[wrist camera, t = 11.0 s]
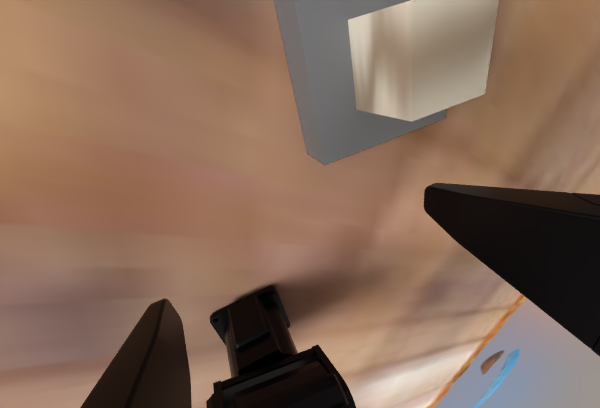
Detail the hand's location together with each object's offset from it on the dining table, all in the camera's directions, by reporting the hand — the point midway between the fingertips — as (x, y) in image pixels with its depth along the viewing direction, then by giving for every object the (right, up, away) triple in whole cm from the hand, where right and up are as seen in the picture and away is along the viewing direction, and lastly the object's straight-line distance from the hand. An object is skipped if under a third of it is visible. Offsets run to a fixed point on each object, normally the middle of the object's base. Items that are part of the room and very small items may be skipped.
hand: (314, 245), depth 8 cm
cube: (+5, +11, +8) cm, 14 cm away
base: (+4, +12, +11) cm, 16 cm away
